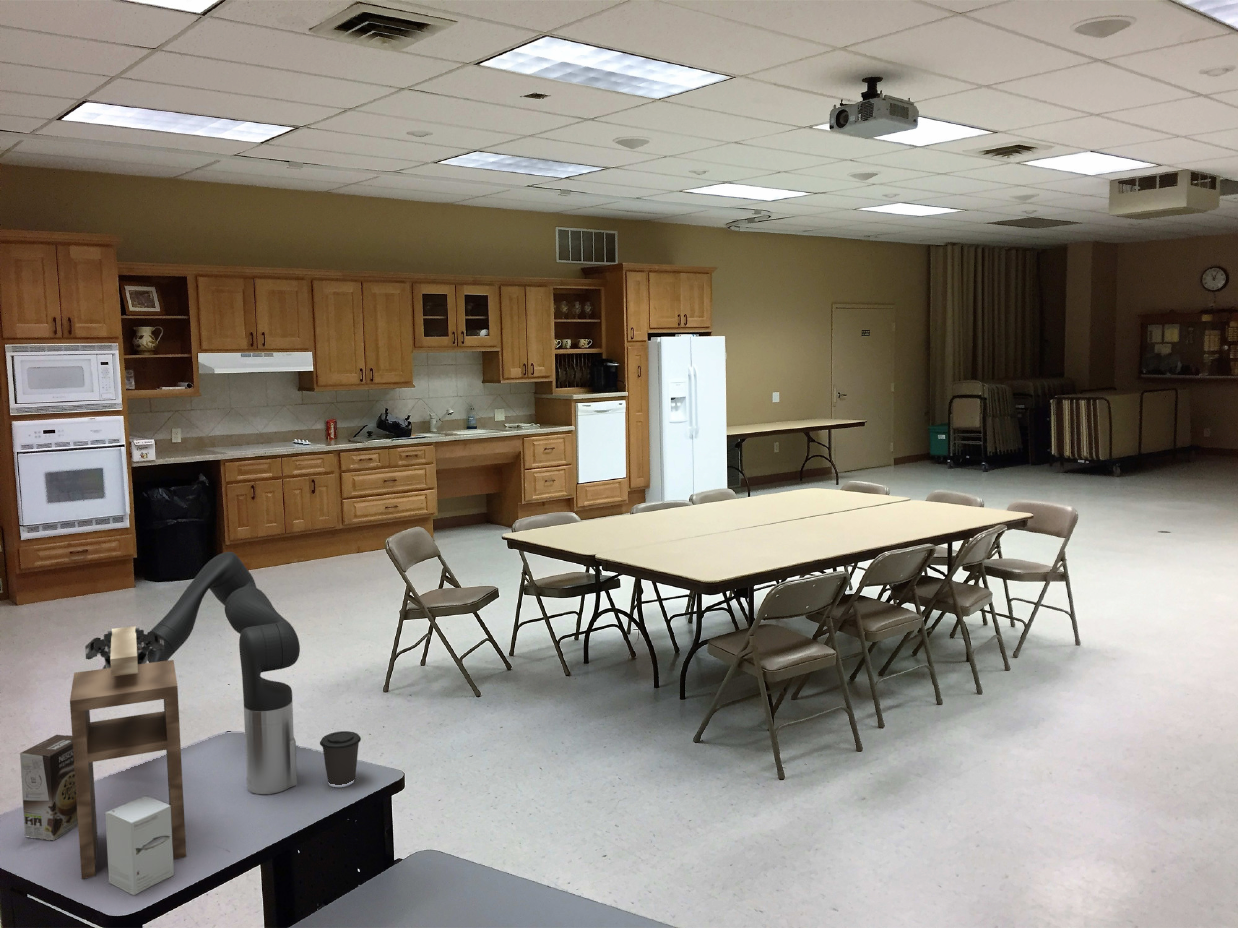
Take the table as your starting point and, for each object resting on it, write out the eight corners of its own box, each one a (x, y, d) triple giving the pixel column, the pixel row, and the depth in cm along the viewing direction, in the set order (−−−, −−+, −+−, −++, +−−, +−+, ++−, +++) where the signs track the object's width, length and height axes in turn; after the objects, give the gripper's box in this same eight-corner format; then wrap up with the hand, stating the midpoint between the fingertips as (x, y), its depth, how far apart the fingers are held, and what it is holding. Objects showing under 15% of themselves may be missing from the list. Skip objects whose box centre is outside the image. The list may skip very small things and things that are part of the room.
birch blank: (136, 641, 182) (135, 626, 182) (137, 672, 164) (136, 655, 164) (112, 644, 180) (111, 628, 180) (111, 676, 163) (110, 659, 162)
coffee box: (54, 841, 173) (48, 755, 171) (23, 837, 174) (17, 752, 172) (91, 817, 182) (86, 735, 180) (62, 813, 183) (56, 732, 181)
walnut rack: (181, 818, 182) (173, 659, 178) (186, 856, 168) (177, 685, 165) (84, 837, 174) (74, 672, 171) (81, 878, 161) (69, 700, 157)
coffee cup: (326, 794, 192) (324, 746, 191) (317, 778, 199) (315, 731, 198) (366, 785, 196) (365, 738, 195) (356, 769, 203) (355, 724, 202)
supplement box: (133, 896, 156) (129, 823, 155) (107, 883, 160) (103, 811, 159) (175, 875, 162) (172, 804, 161) (149, 862, 166) (145, 793, 165)
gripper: (167, 670, 193) (167, 649, 178) (86, 681, 186) (80, 660, 172) (164, 634, 195) (165, 610, 181) (84, 643, 189) (78, 619, 174)
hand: (123, 634), depth 177 cm, fingers closed on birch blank, 4 cm apart
